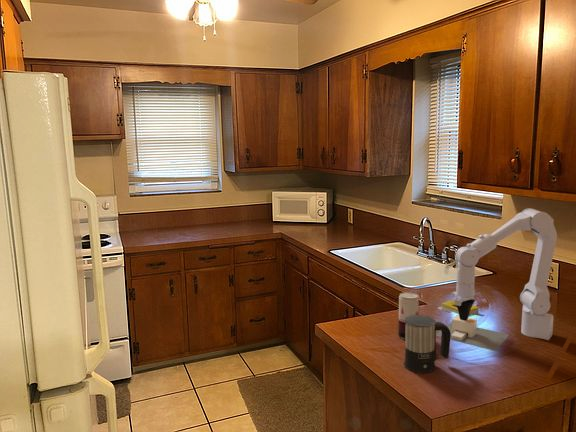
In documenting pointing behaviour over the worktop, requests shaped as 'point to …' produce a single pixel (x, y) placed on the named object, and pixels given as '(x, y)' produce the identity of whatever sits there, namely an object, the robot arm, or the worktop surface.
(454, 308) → the emergency button
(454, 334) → the rail panel
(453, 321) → the block
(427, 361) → the milk frother
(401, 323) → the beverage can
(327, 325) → the worktop surface
